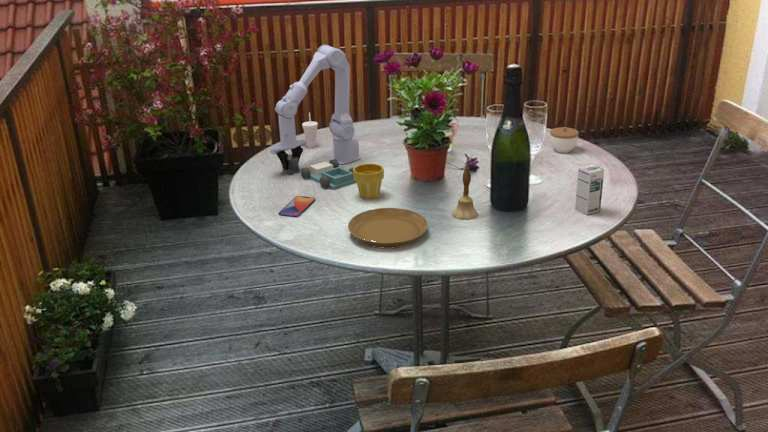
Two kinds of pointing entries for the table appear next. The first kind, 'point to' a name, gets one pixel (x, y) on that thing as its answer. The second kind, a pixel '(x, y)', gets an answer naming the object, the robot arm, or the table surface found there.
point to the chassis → (329, 174)
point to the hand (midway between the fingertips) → (290, 167)
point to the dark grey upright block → (292, 165)
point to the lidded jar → (563, 139)
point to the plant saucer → (387, 227)
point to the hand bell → (465, 200)
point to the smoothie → (310, 132)
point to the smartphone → (297, 206)
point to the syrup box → (589, 189)
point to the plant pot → (368, 179)
